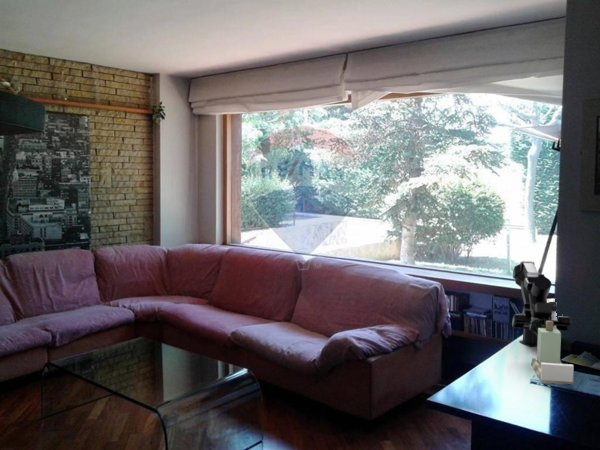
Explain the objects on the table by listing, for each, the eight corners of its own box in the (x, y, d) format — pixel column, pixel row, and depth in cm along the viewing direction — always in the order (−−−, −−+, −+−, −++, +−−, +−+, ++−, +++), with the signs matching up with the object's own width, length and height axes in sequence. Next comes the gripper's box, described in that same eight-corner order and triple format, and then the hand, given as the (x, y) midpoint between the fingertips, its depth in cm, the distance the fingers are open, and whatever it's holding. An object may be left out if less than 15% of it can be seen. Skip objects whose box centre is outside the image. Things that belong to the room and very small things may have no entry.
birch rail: (531, 364, 184) (531, 357, 183) (559, 366, 182) (559, 359, 181) (541, 382, 167) (541, 375, 167) (572, 385, 165) (573, 377, 165)
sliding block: (536, 362, 182) (538, 319, 180) (556, 363, 180) (557, 320, 179) (539, 367, 177) (541, 323, 176) (559, 369, 175) (561, 324, 174)
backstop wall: (540, 378, 168) (541, 362, 168) (571, 380, 166) (572, 364, 166) (541, 379, 167) (542, 364, 167) (573, 382, 165) (573, 366, 165)
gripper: (514, 291, 191) (518, 330, 181) (571, 294, 187) (578, 334, 177) (510, 308, 199) (514, 346, 189) (565, 310, 195) (571, 350, 185)
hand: (544, 343), depth 185 cm, fingers closed
